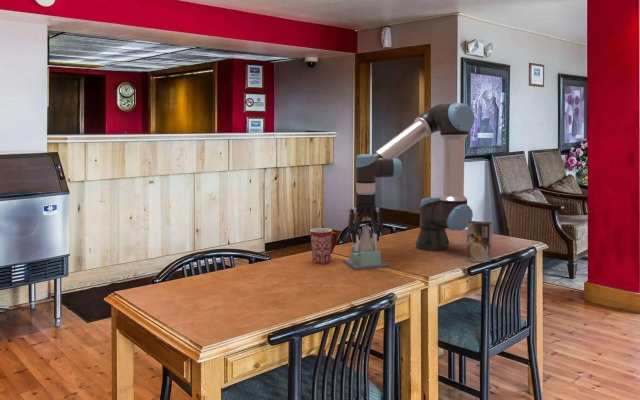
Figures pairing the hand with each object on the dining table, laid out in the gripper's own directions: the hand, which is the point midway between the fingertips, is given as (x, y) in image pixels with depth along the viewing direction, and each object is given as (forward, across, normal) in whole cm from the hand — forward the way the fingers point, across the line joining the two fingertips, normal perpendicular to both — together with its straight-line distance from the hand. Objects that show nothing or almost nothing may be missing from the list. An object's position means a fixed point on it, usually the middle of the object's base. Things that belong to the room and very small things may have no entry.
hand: (365, 249), depth 225 cm
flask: (0, 0, 0) cm, 0 cm away
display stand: (+6, 0, 0) cm, 6 cm away
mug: (+6, +14, -10) cm, 18 cm away
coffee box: (+6, -47, +8) cm, 48 cm away
